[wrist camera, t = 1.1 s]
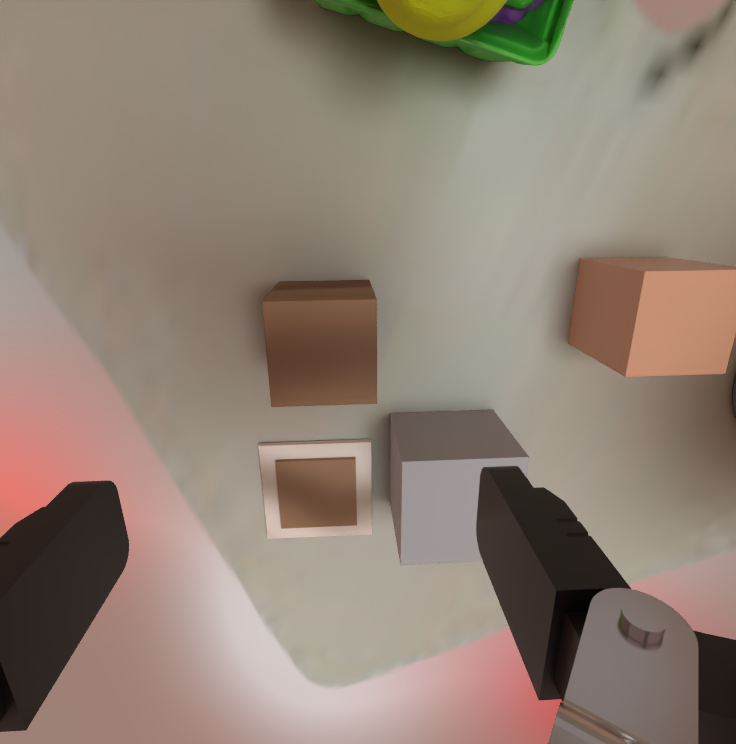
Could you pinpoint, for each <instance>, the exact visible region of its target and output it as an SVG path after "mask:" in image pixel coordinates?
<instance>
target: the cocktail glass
mask: <svg viewBox="0 0 736 744" xmlns="http://www.w3.org/2000/svg"><path fill="white" fill-rule="evenodd" d="M733 406H734V412H735V415H736V378H735V383H734V389H733Z"/></svg>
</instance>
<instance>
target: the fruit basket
mask: <svg viewBox="0 0 736 744" xmlns="http://www.w3.org/2000/svg"><path fill="white" fill-rule="evenodd" d="M314 1H315V2H316V3H317V4H319V5H320V6H321V7H323V8H326V9H329V10H332V11H335V12H338V13H341V14H345V15H356V14H359V15H360V16H361V17H363V18H364V19H365V20H366V21H368V22H370V23H372V24H375V25H378V26H382V27H385V28H388V29H391V30H394V31H406V32H408V33H410V34H412V35H414V36H416V37H417V38H419V39H421V40H424V41H427V42H430V43H434V44H436V45H439V46H442V47H457V46H458V47H459V48H460V49H461V50H462V51H464V52H465V53H466V54H468V55H471V56H474V57H477V58H480V59H483V60H486V61H492V62H504V61H512V62H515V63H518V64H525V65H541V64H544V63H546V62H547V61H549V60H550V59H551V58H552V56H553V55H554V54H555V52H556V51H557V48H558V46H559V44H560V41H561V38H562V35H563V31H564V28H565V24H566V20H567V18H568V15H569V12H570V10H571V7H572V4H573V1H574V0H314Z"/></svg>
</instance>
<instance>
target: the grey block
mask: <svg viewBox="0 0 736 744" xmlns="http://www.w3.org/2000/svg"><path fill="white" fill-rule="evenodd" d="M528 462H529V456H528V455H527V454H526V452H525V451H524V450H523V448H522V447H521V446H520V444H519V443H518V442H517V441H516V439H515V438H514V437H513V435H512V434H511V433H510V431H509V430H508V429H507V427H506V426H505V425H504V423H503V422H502V421H501V420H500V418H499V417H498V416H497V414H496V413H495V412H494V410H468V411H436V412H405V413H390V505H391V511H392V517H393V523H394V529H395V535H396V541H397V547H398V553H399V559H400V565H420V564H440V563H460V562H480V561H483V560H482V558H481V555H480V552H479V548H478V543H477V535H476V521H477V508H478V496H479V483H480V474H481V470H482V468H483V467H497V466H518V467H519V468H520V469H521V471H522V472H523V473H524V475H525V476H526V478H527V470H528Z"/></svg>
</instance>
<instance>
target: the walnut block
mask: <svg viewBox="0 0 736 744" xmlns="http://www.w3.org/2000/svg"><path fill="white" fill-rule="evenodd" d="M262 306H263V317H264V329H265V340H266V351H267V363H268V374H269V385H270V396H271V407H284V406H316V405H348V404H377V299H376V297H375V294H374V291H373V289H372V286H371V284H370V281H369V280H341V281H287V282H279V283H278V284H277V285H276V286H275V288H274V289H273V290H272V291H271V292H270V293H269V294H268V296H267V297H266V298H265V299H264V300H263V301H262Z"/></svg>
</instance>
